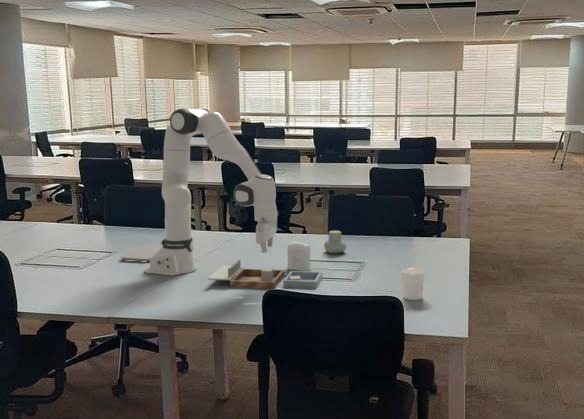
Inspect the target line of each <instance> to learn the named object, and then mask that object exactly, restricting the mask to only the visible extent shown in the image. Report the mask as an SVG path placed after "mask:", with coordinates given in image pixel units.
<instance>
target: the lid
mask: <svg viewBox="0 0 584 419" xmlns="http://www.w3.org/2000/svg"><path fill="white" fill-rule="evenodd" d="M242 269H244V266H243V265H241V259H237V260H236V261H234V262H233V264H232V265H221V267H219V268H218V269H217V270H215V272H213V273H212V274H210V276H208V277H207V280H210V281H211V280H212V281H213V280H214V281H230V280H231V279H232V278H233V277H234V276H235V275H237V274H238V273H239V272H240V271H241V270H242Z"/></svg>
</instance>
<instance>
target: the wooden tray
mask: <svg viewBox="0 0 584 419" xmlns="http://www.w3.org/2000/svg"><path fill="white" fill-rule="evenodd" d="M262 269H263V268H242V269H241V270H240V271H239V272H238V273H237V274H236V275H235V276H234V277H233V278H232V279H231V280H229V287H230V288H241V289H243V288H246V289H266V290H267V289H268V290H275V289H276V288H277V286H278V285H279V284H280V283H281V281H283V280H284V279H283V278H285V276H286V275H285V269H273V278H274V280H273V282H266V281H261V270H262Z"/></svg>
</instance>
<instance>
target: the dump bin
mask: <svg viewBox="0 0 584 419" xmlns="http://www.w3.org/2000/svg"><path fill="white" fill-rule="evenodd" d="M290 276H300V278H301V281H300V280H290ZM322 278H323V271H299V270H290V271H289V273H288V274H287V275H286V277H284V279H283V280H282V282H283V288H299V289H300V288H302V289H303V288H304V289H305V288H306V289H317V287H318V286H319V284H320V282H321V281H322Z"/></svg>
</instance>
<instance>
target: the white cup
mask: <svg viewBox="0 0 584 419" xmlns="http://www.w3.org/2000/svg"><path fill="white" fill-rule="evenodd" d="M401 275H402V291H403V299H405V300H408V301H410V300H411V301H418V300H422V299H423V291H424V281H425V280H424V278H425V271H424V270H423V269H421V268H403V269H402V270H401Z"/></svg>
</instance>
